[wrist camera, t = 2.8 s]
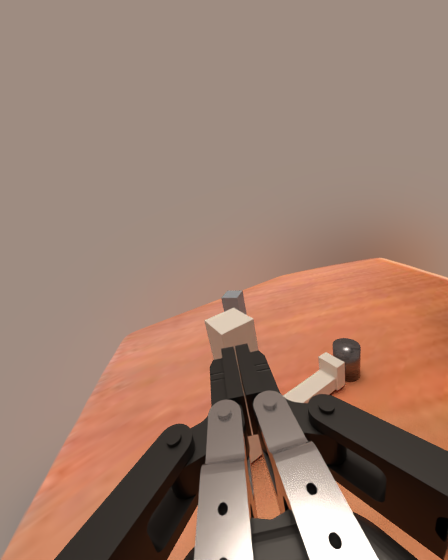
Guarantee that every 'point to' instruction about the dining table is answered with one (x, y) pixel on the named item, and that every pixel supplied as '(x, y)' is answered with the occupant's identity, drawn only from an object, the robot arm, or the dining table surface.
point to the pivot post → (348, 357)
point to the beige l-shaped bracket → (241, 330)
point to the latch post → (234, 301)
